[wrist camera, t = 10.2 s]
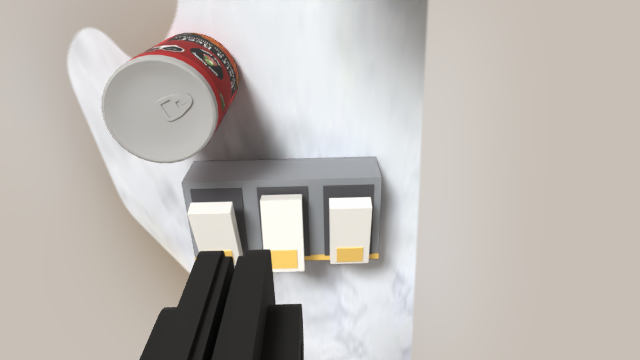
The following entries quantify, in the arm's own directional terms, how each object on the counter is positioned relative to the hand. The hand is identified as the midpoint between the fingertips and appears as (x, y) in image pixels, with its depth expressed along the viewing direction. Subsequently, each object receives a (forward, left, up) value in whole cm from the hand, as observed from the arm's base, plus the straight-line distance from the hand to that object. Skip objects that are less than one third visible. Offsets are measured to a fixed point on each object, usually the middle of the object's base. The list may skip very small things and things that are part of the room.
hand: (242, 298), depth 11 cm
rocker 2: (+15, -1, -26) cm, 30 cm away
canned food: (+2, -9, -32) cm, 34 cm away
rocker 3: (+15, +5, -26) cm, 30 cm away
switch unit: (+15, -1, -32) cm, 35 cm away
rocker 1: (+15, -7, -26) cm, 31 cm away
